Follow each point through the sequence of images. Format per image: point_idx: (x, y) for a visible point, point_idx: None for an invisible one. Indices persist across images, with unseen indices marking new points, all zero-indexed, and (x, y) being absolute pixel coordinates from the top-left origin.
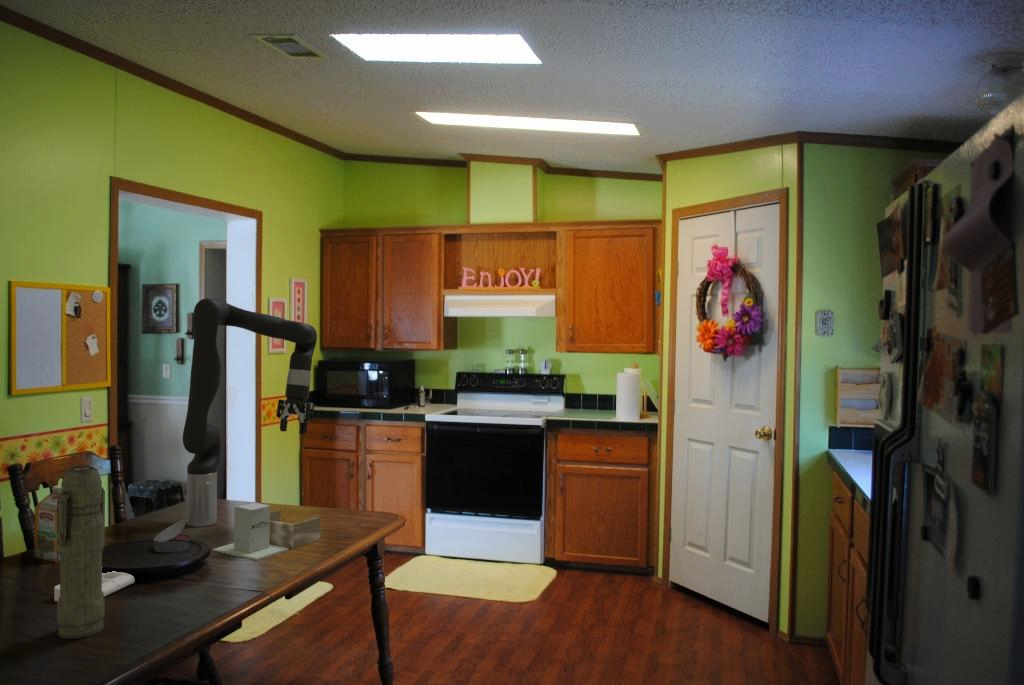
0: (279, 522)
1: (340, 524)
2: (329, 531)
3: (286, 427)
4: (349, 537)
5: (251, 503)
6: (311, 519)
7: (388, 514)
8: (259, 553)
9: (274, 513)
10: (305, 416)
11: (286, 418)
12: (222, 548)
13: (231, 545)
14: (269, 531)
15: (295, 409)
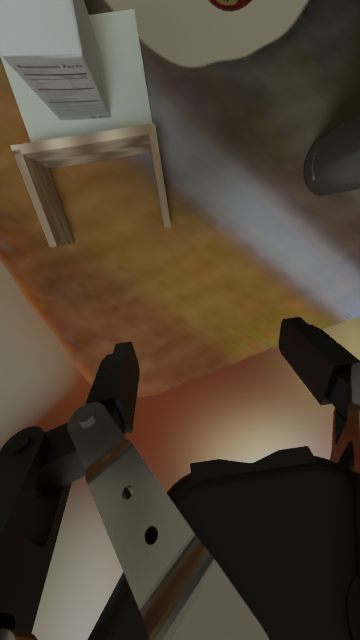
0: (59, 144)
1: (132, 324)
2: (106, 287)
3: (290, 362)
4: (49, 285)
5: (71, 29)
6: (40, 219)
7: None
8: None
9: (161, 209)
10: (22, 476)
11: (338, 409)
12: (123, 31)
13: (131, 69)
14: (44, 102)
15: (188, 551)
